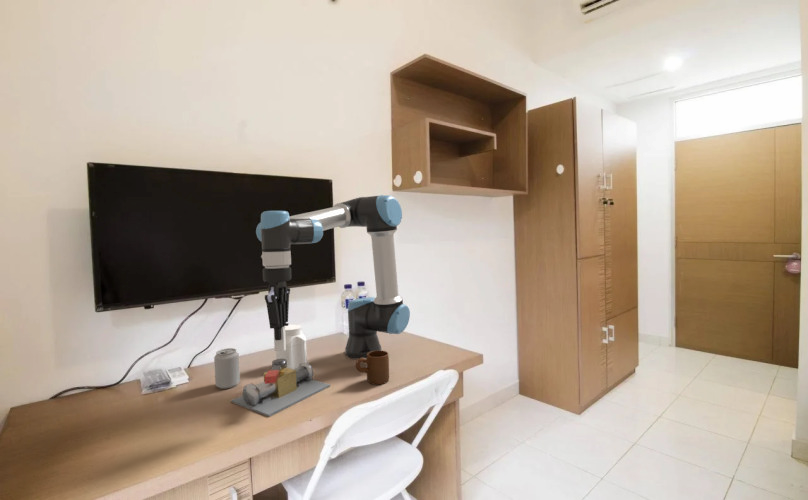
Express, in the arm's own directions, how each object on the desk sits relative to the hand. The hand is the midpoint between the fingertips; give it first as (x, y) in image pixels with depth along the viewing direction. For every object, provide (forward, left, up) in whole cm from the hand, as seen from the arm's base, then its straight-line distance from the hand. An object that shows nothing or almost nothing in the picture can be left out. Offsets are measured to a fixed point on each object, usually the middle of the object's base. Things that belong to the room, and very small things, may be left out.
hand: (280, 350), depth 107 cm
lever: (-5, -8, -10) cm, 14 cm away
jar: (-28, -29, -19) cm, 44 cm away
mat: (-9, -11, -18) cm, 23 cm away
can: (-4, -33, -19) cm, 38 cm away
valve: (-9, -12, -18) cm, 24 cm away
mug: (-31, +8, -19) cm, 37 cm away
